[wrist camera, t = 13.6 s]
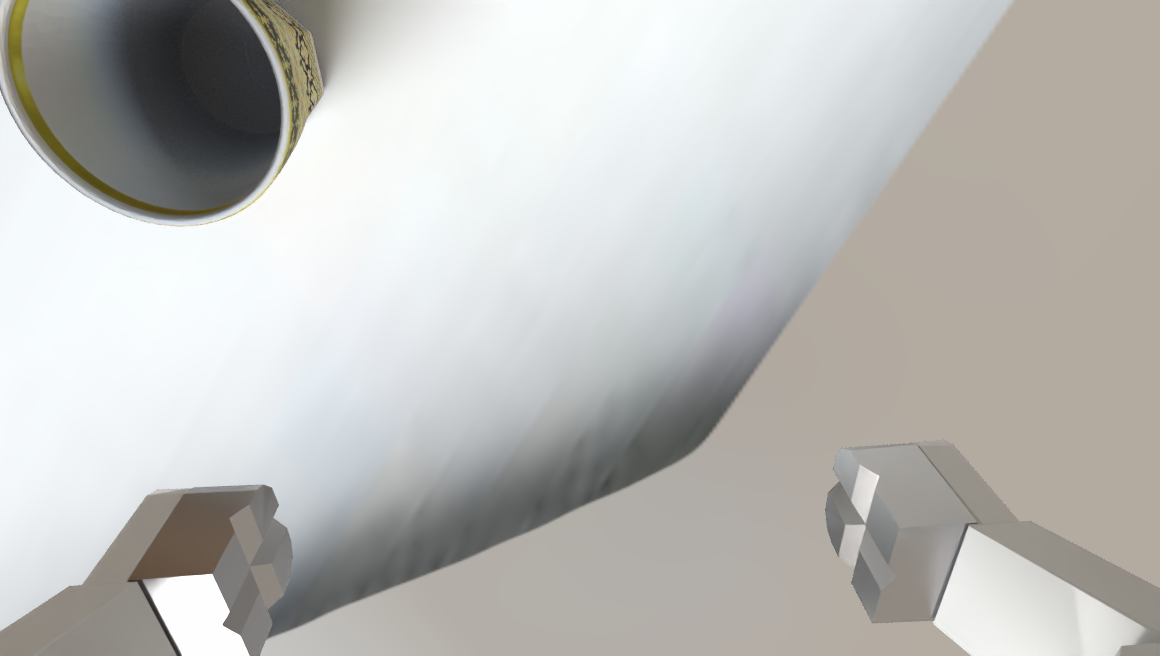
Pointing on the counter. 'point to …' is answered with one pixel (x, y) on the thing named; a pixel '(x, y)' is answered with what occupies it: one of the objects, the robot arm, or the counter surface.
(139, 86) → the ceramic cup
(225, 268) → the counter surface
